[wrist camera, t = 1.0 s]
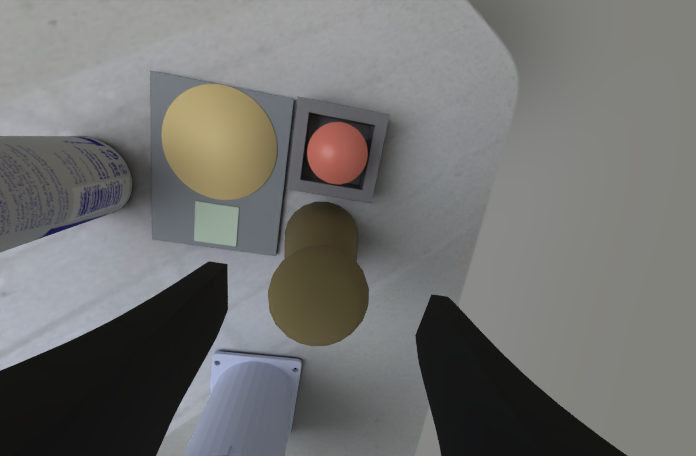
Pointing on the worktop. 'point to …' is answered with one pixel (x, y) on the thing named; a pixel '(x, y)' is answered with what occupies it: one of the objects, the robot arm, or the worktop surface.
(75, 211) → the beverage can
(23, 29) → the worktop surface
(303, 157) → the button housing
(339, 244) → the olive knobbed peg
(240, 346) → the worktop surface
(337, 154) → the button
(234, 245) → the grey kitchen scale
